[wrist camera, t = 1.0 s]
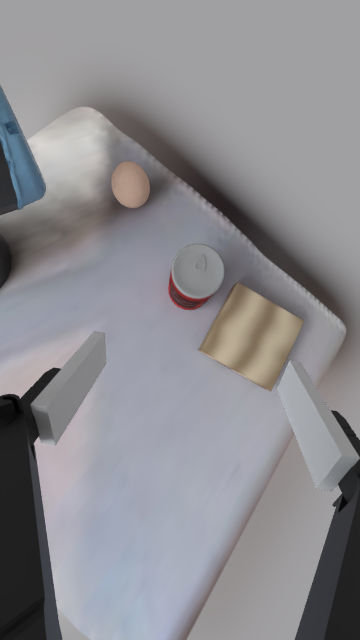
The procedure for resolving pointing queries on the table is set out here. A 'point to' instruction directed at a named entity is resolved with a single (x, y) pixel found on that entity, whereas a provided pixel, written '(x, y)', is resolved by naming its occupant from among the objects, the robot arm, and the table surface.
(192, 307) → the canned food
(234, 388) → the table surface
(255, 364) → the maple stand
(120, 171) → the egg
